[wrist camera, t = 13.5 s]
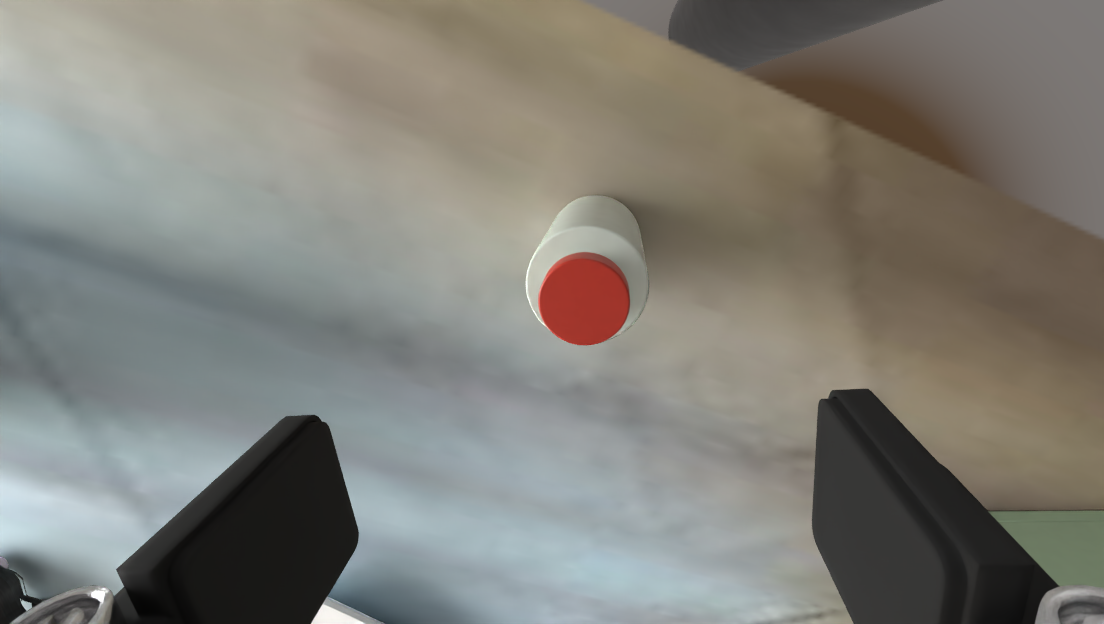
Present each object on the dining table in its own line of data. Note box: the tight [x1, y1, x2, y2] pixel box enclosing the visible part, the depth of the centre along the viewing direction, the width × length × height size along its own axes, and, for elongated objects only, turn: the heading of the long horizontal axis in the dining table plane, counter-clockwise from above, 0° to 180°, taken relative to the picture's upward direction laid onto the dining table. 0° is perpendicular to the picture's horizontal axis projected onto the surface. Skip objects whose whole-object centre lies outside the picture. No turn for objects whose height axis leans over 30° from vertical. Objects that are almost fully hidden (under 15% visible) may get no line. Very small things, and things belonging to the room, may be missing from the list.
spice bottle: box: [526, 195, 649, 345], centre depth 22 cm, size 4×4×9 cm
